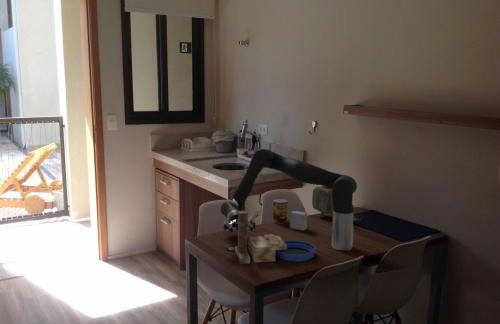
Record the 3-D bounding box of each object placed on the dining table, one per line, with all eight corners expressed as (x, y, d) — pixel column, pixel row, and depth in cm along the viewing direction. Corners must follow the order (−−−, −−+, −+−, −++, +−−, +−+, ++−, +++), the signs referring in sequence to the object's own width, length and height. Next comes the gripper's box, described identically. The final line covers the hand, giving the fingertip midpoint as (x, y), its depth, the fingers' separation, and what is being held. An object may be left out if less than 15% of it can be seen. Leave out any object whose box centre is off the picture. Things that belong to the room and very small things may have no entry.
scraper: (240, 263, 187) (241, 217, 184) (235, 251, 202) (235, 207, 198) (250, 263, 188) (250, 216, 185) (243, 250, 202) (244, 207, 199)
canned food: (276, 224, 242) (276, 202, 241) (270, 220, 250) (270, 199, 248) (289, 223, 245) (290, 201, 243) (283, 219, 253) (283, 198, 251)
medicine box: (306, 229, 236) (307, 213, 234) (303, 231, 232) (303, 214, 231) (293, 226, 240) (294, 210, 239) (289, 228, 236) (290, 212, 235)
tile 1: (270, 246, 189) (270, 244, 189) (268, 243, 193) (268, 241, 193) (279, 245, 190) (280, 243, 190) (277, 242, 194) (277, 240, 194)
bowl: (300, 245, 211) (300, 238, 211) (323, 258, 195) (323, 250, 195) (266, 251, 203) (266, 243, 202) (287, 265, 187) (288, 257, 187)
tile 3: (266, 239, 198) (266, 237, 198) (264, 236, 202) (264, 234, 202) (274, 239, 199) (274, 237, 199) (272, 236, 203) (272, 234, 202)
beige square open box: (254, 262, 189) (254, 247, 188) (248, 250, 202) (248, 236, 201) (286, 260, 191) (287, 246, 190) (278, 249, 205) (278, 235, 204)
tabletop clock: (339, 219, 254) (341, 176, 250) (327, 221, 249) (329, 177, 245) (322, 213, 266) (324, 171, 262) (310, 215, 261) (312, 173, 257)
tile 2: (270, 242, 194) (270, 240, 194) (268, 239, 198) (268, 237, 198) (279, 242, 195) (279, 240, 195) (277, 239, 199) (277, 237, 198)
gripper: (221, 212, 209) (225, 221, 194) (251, 210, 212) (257, 220, 196) (220, 227, 211) (225, 238, 195) (250, 226, 213) (257, 237, 197)
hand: (241, 229), depth 195 cm, fingers open, 8 cm apart
